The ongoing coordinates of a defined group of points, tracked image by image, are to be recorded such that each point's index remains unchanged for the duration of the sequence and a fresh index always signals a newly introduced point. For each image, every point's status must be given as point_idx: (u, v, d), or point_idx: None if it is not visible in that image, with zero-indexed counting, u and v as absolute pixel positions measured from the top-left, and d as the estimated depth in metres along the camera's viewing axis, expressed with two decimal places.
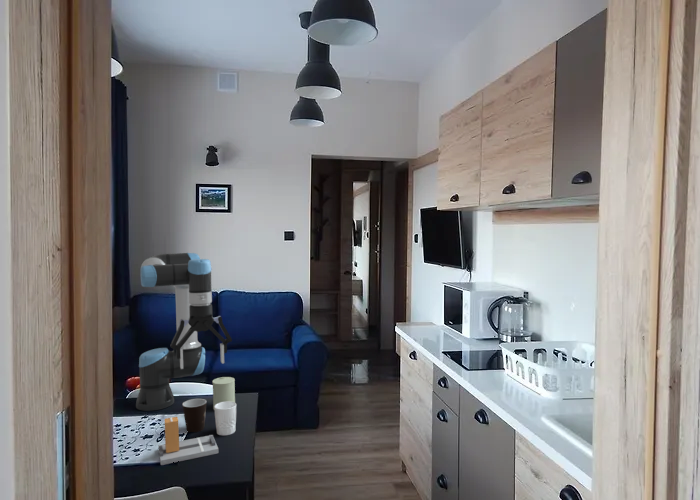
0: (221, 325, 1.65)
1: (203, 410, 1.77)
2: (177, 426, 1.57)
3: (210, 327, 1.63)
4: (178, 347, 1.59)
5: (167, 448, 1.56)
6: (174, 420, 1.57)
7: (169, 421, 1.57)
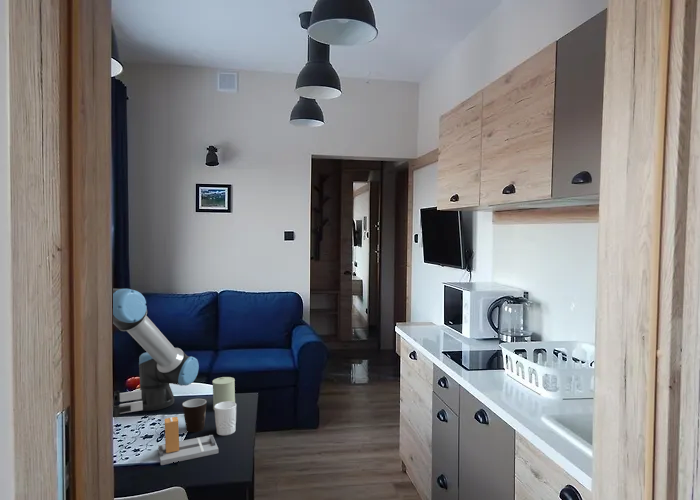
0: None
1: (203, 410, 1.77)
2: (177, 426, 1.57)
3: None
4: None
5: (167, 448, 1.56)
6: (174, 420, 1.57)
7: (169, 421, 1.57)
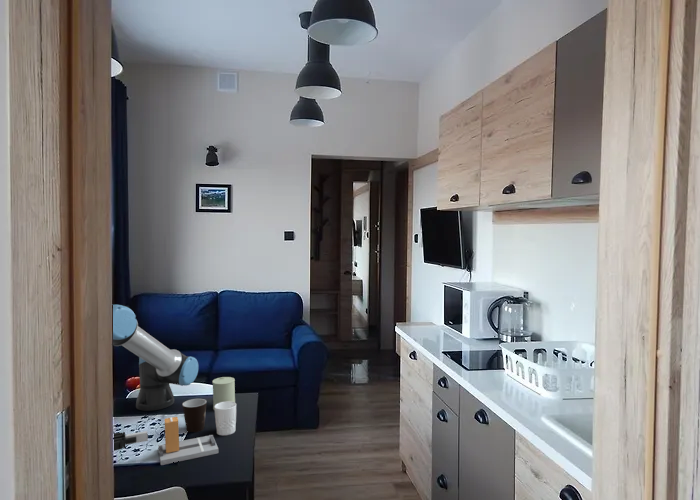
0: None
1: (203, 410, 1.77)
2: (177, 426, 1.57)
3: None
4: None
5: (167, 448, 1.56)
6: (174, 420, 1.57)
7: (169, 421, 1.57)
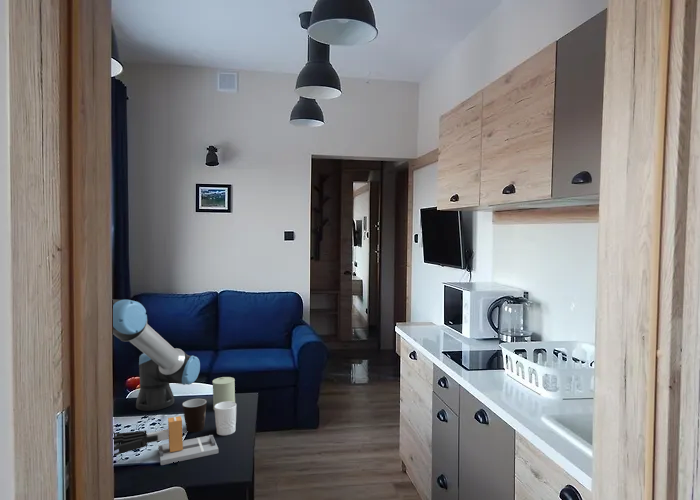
0: None
1: (203, 410, 1.77)
2: (181, 425, 1.57)
3: None
4: None
5: (171, 447, 1.56)
6: (178, 419, 1.58)
7: (173, 420, 1.57)
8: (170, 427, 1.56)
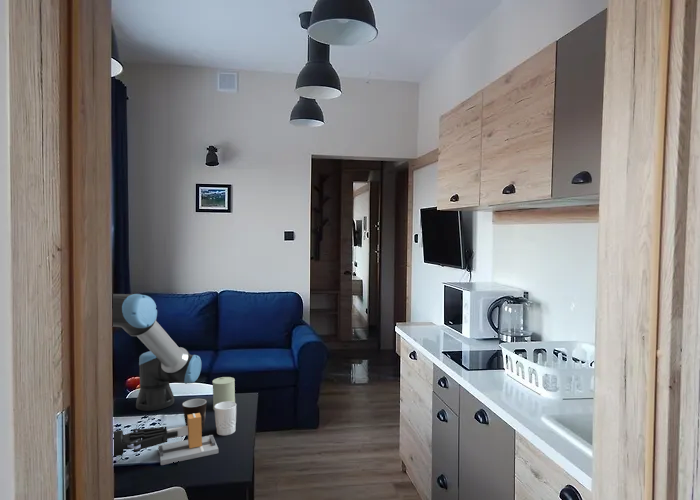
0: None
1: (203, 410, 1.77)
2: (200, 422, 1.60)
3: None
4: None
5: (190, 443, 1.59)
6: (197, 416, 1.60)
7: (192, 417, 1.60)
8: (190, 423, 1.59)
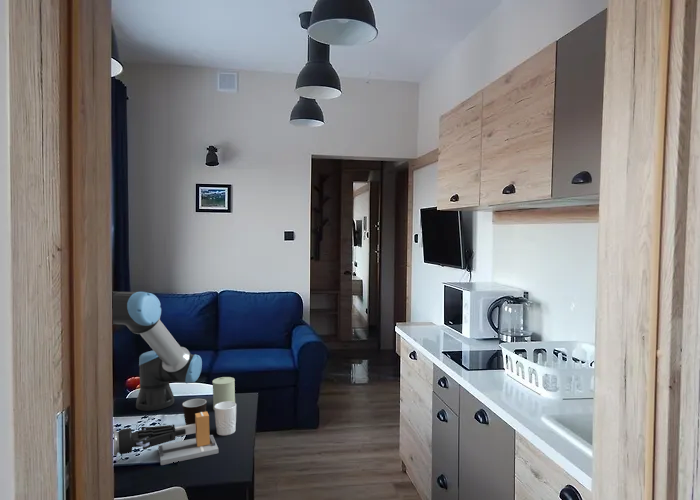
0: None
1: (203, 410, 1.77)
2: (208, 420, 1.61)
3: None
4: None
5: (198, 442, 1.60)
6: (205, 415, 1.61)
7: (200, 416, 1.61)
8: (198, 422, 1.60)
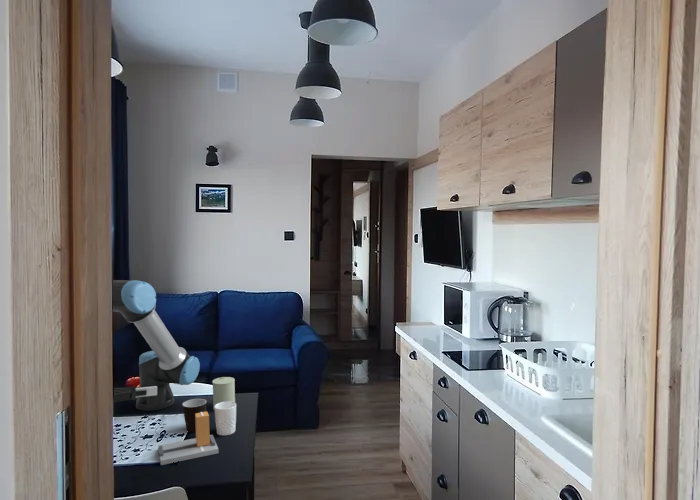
0: None
1: (203, 410, 1.77)
2: (208, 420, 1.61)
3: None
4: None
5: (198, 442, 1.60)
6: (205, 415, 1.61)
7: (200, 416, 1.61)
8: (198, 422, 1.60)
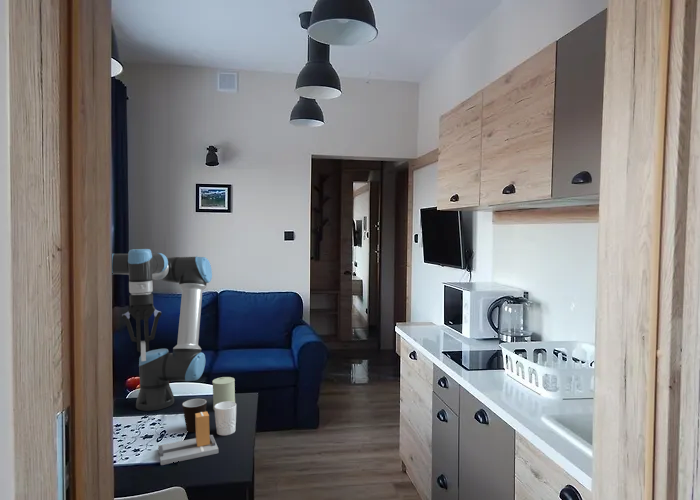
0: (156, 320, 1.67)
1: (203, 410, 1.77)
2: (208, 420, 1.61)
3: (146, 318, 1.65)
4: (138, 340, 1.64)
5: (198, 442, 1.60)
6: (205, 415, 1.61)
7: (200, 416, 1.61)
8: (198, 422, 1.60)
